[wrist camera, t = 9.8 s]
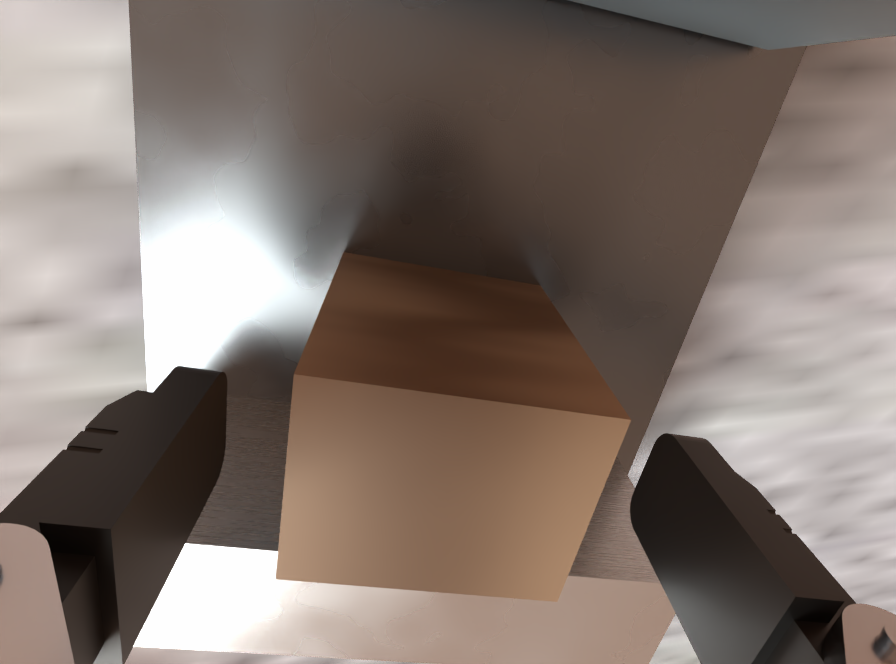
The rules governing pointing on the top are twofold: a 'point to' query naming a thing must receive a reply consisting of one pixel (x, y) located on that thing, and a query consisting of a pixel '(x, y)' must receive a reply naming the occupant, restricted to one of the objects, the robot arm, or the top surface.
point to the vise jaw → (767, 19)
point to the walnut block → (442, 436)
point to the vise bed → (425, 262)
